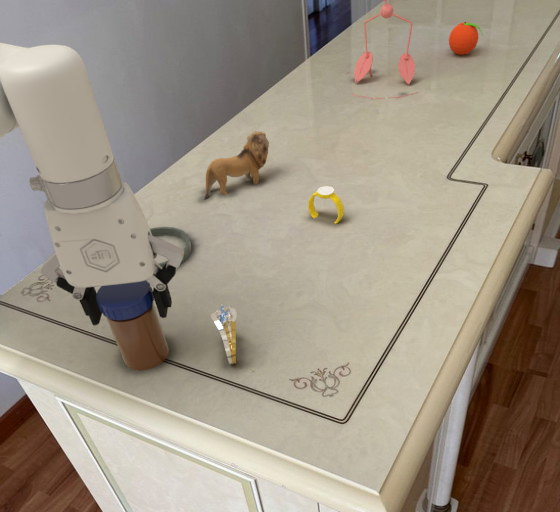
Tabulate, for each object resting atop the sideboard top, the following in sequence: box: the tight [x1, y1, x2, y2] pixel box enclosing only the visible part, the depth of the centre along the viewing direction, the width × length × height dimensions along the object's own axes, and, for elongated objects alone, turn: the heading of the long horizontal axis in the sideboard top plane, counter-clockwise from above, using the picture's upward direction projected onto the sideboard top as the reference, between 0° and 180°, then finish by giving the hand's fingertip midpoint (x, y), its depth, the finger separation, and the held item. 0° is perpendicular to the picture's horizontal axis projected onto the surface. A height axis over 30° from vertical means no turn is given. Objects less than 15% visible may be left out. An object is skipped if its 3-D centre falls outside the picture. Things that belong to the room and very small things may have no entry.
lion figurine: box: [203, 130, 270, 201], centre depth 105 cm, size 15×5×9 cm, turn 125°
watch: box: [307, 185, 345, 225], centre depth 95 cm, size 6×3×6 cm, turn 57°
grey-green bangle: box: [150, 226, 192, 268], centre depth 94 cm, size 11×11×2 cm
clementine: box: [448, 21, 483, 56], centre depth 143 cm, size 8×7×7 cm
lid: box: [96, 280, 155, 320], centre depth 71 cm, size 7×7×2 cm
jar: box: [105, 301, 170, 371], centre depth 74 cm, size 6×6×11 cm
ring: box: [210, 303, 238, 365], centre depth 74 cm, size 7×3×8 cm, turn 5°
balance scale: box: [345, 0, 419, 100], centre depth 124 cm, size 15×26×35 cm, turn 65°
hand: (131, 313), depth 73 cm, fingers open, 7 cm apart
